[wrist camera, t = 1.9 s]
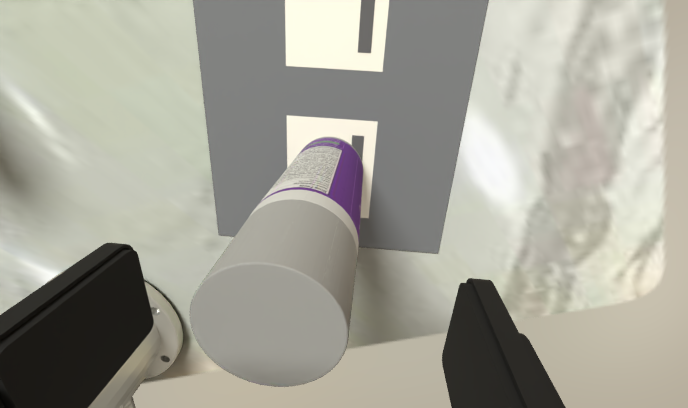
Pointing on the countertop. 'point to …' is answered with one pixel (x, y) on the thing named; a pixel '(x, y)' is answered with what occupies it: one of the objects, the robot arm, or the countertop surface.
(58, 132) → the countertop surface
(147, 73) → the countertop surface
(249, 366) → the container
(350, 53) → the label mat
